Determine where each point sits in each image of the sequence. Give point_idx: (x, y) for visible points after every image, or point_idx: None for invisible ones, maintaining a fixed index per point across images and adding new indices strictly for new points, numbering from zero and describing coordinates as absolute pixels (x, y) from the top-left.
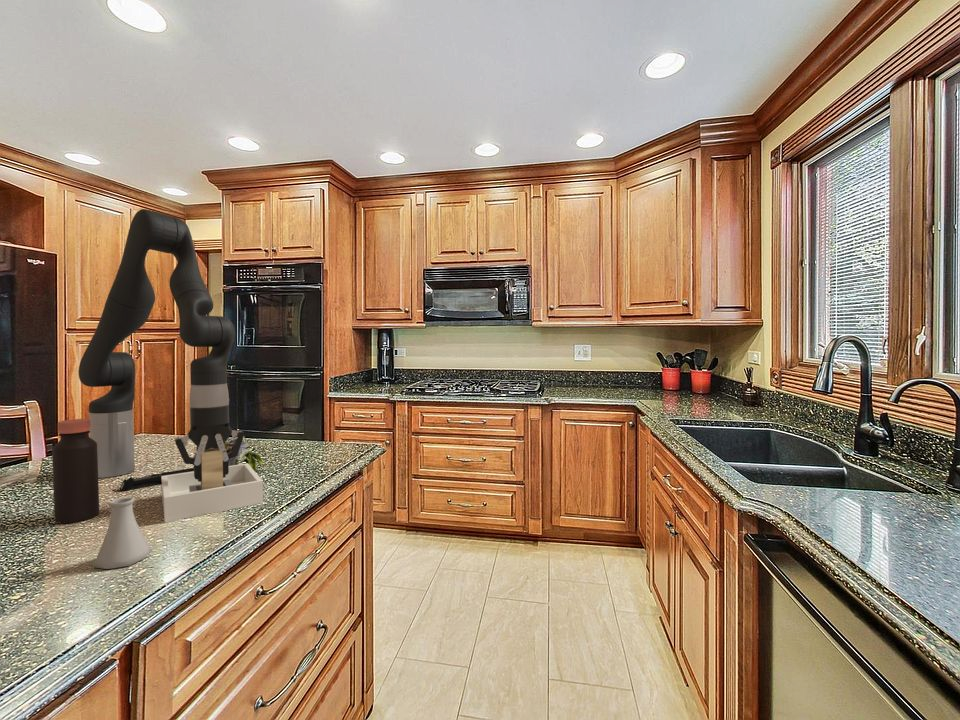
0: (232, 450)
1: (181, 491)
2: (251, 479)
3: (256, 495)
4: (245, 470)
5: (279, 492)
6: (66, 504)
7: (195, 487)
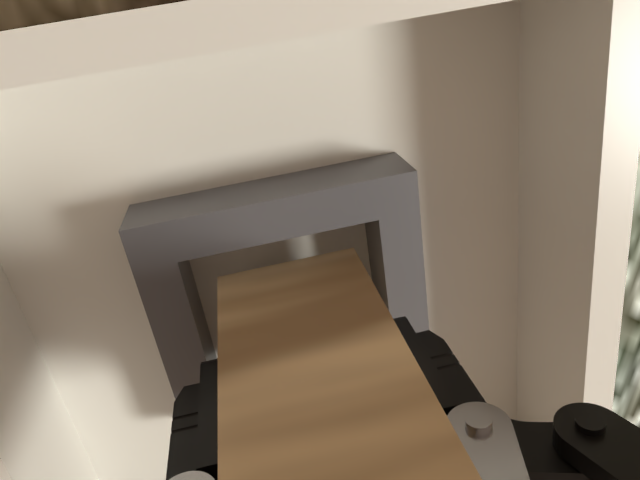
0: (606, 476)
1: (38, 88)
2: (559, 314)
3: None
4: (579, 57)
5: (636, 286)
6: None
7: (181, 295)
